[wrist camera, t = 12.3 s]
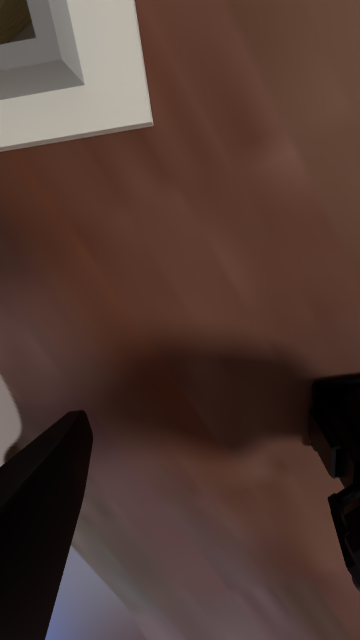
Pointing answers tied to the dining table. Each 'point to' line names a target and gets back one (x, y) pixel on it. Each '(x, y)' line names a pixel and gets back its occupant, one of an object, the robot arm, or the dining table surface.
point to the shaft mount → (73, 74)
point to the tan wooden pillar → (13, 19)
